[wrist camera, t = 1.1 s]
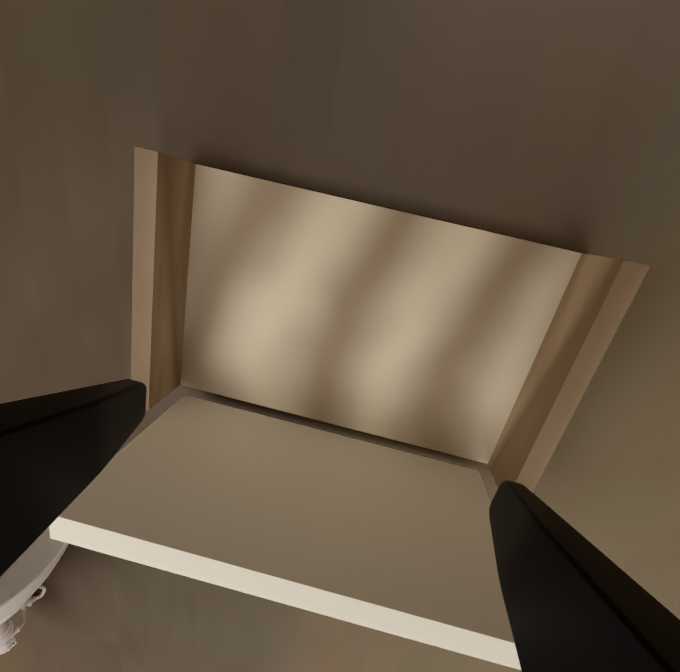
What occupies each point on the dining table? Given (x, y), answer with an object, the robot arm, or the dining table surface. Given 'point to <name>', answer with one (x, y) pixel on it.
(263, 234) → the tray
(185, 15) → the dining table surface
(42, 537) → the rocket engine
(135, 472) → the panel
